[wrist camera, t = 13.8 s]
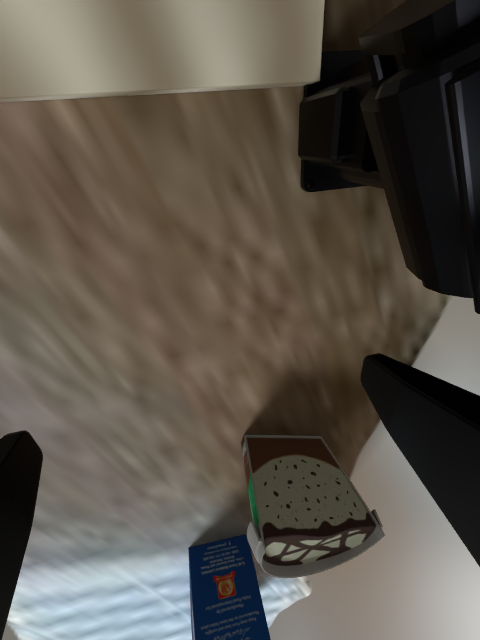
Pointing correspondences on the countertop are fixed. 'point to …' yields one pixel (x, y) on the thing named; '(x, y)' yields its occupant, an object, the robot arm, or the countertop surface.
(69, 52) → the board
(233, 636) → the pasta box
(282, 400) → the countertop surface
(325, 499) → the food container
